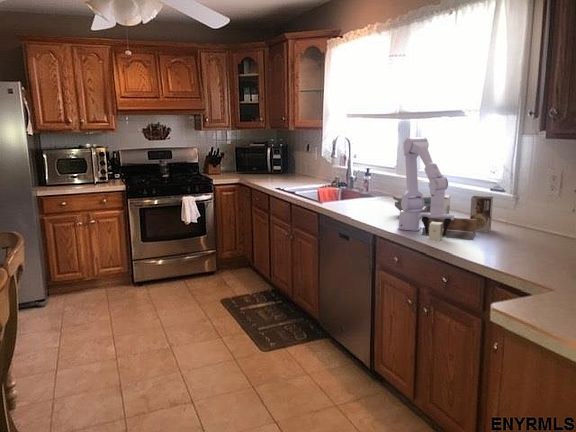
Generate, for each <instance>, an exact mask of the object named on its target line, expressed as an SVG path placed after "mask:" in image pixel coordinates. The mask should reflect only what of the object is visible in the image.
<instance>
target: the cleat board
mask: <svg viewBox="0 0 576 432" xmlns="http://www.w3.org/2000/svg"><path fill="white" fill-rule="evenodd" d="M444 220H445V219H437V218H429V224H428V234H426V232H425V227H424V226H423V227H422V231H421V235H423V236H429V225H430V223H431V222H442V223H443V227H442V238H452V239H461V240H472V241H473V239H474V237H475V236H476V232H477V231H476V219H470V218H466V217H465V218H463V217H454V220H451V222H450V224H449V226H448V228H447V231H446V235H445V236H443V232H444Z"/></svg>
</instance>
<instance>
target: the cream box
mask: <svg viewBox="0 0 576 432" xmlns="http://www.w3.org/2000/svg"><path fill="white" fill-rule="evenodd" d="M442 227H443V223H442V222H431V223H430V225H429V235H428V240H429V239H430V240H431V241H438V240H439V241H440V240H441V239H442V238H443V237H442Z"/></svg>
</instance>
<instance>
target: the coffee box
mask: <svg viewBox="0 0 576 432" xmlns="http://www.w3.org/2000/svg"><path fill="white" fill-rule="evenodd" d="M493 200H494V196H487V195H485V196H484V195H473V196H471V198H470V213H469V214H470V216H469V219H476V232H484V233H490V232H491V230H492V218H493V216H492V215H493V205H494V203H493V202H494V201H493Z"/></svg>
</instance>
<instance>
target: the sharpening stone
mask: <svg viewBox="0 0 576 432" xmlns="http://www.w3.org/2000/svg"><path fill="white" fill-rule="evenodd" d="M422 195H423V200H424V207H423V209H421V211H420V213H430V205H431V194H422ZM413 197H415V196H413ZM413 197H409V198H413ZM392 199H393V200H394V201H395V202H394V207H395V208H397V209H398V211H399V212H400V211H401V210H403V209H402V207H401V201H402V195H393V196H392Z"/></svg>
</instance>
